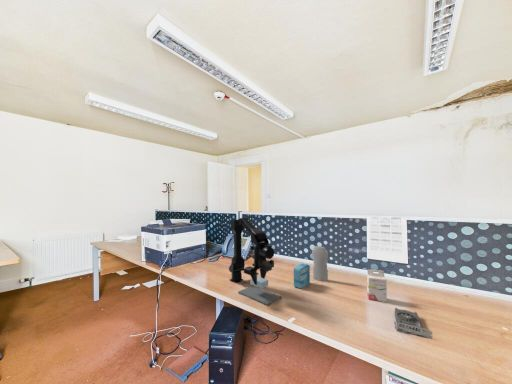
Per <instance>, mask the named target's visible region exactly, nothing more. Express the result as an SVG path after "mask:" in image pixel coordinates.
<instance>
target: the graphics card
mask: <svg viewBox="0 0 512 384" xmlns="http://www.w3.org/2000/svg"><path fill="white" fill-rule="evenodd" d="M394 318H395V320H394V330H396V332H397V331H400V332H403V333H406V334H408V335H416V336H418V337H421V338H427V339H433V331H431V330H430V329H429V328H428V329H427V328H423V326H422V322H421V320H420V317H419V314H418V312H416V311H414V312H413V311H410V310H406V309H399V308H397V307H394Z"/></svg>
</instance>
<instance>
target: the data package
mask: <svg viewBox="0 0 512 384" xmlns="http://www.w3.org/2000/svg"><path fill="white" fill-rule="evenodd" d="M310 267H311V265H309V264H306V263H301V264H299V265H296V266H294V267H293V286H294V287H295V288H298V289H303V288H305V287H307V286H308V285H309V284H310V282H311V268H310Z"/></svg>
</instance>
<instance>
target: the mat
mask: <svg viewBox="0 0 512 384" xmlns="http://www.w3.org/2000/svg"><path fill="white" fill-rule="evenodd" d="M237 294H240V295H242V296H244V297H246V298H249V299H250V300H253V301H255V302H258V303H260V304H262V305H264V306H266V307H268V306H270V305H273V304H274V303H276V302H277V301H280V299H282V297H283V296H282V295H279V294H276V293H273V292H271V291H269V290H266V289H264V288H259V287H256V286H254V285H250V286H247V287H246V288H244V289H241V290H239V291H237Z"/></svg>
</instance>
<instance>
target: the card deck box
mask: <svg viewBox="0 0 512 384" xmlns="http://www.w3.org/2000/svg"><path fill="white" fill-rule="evenodd" d="M249 281H250V286H256V287H258V288H261V289H264V288H266V287H268V286H269V280H268V279H266V278H265V279H264V278H261V276H258V275H257V284H256V285H255V284H254V282H253V280H252V277H251V278H250V280H249Z"/></svg>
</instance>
